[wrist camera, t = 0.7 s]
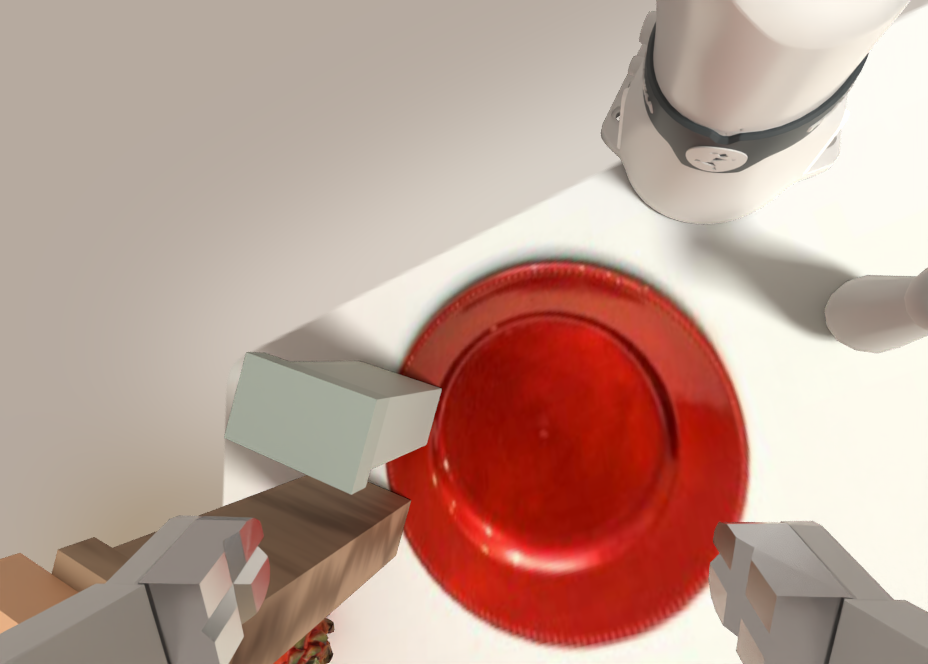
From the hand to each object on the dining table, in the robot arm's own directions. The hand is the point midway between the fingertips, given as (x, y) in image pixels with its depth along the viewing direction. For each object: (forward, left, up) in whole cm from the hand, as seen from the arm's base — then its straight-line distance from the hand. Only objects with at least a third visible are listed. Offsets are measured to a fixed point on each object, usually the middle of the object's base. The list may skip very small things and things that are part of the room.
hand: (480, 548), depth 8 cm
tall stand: (+19, -19, -37) cm, 46 cm away
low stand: (+7, -19, -37) cm, 42 cm away
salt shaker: (-12, +18, -37) cm, 43 cm away
